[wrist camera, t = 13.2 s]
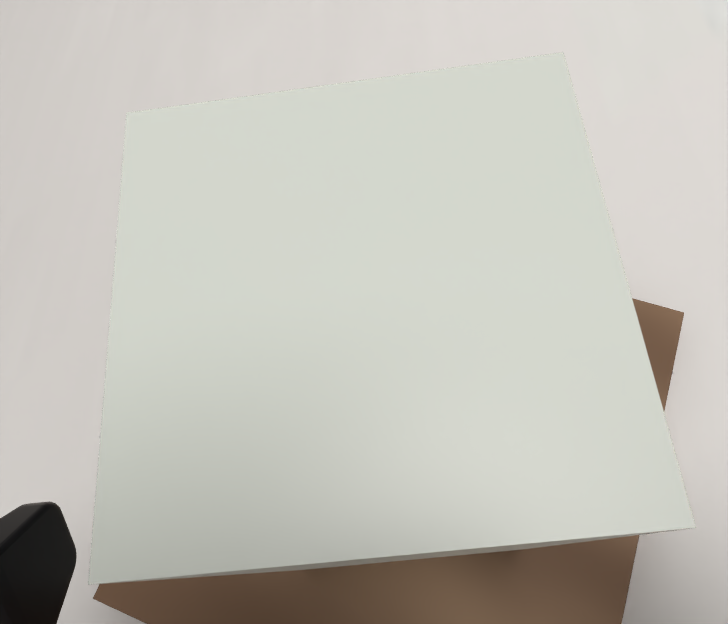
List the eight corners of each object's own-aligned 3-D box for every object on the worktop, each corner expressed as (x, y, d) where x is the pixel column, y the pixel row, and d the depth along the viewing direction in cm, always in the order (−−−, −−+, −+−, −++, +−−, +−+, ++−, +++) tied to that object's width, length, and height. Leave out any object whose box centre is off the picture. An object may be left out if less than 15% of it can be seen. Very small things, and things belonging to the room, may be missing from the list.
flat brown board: (573, 813, 15) (640, 930, 10) (106, 596, 18) (-10, 609, 14) (674, 321, 20) (754, 244, 15) (286, 213, 23) (248, 119, 18)
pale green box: (522, 549, 17) (696, 528, 6) (304, 569, 17) (87, 584, 6) (486, 341, 19) (563, 52, 8) (295, 363, 20) (126, 113, 9)
